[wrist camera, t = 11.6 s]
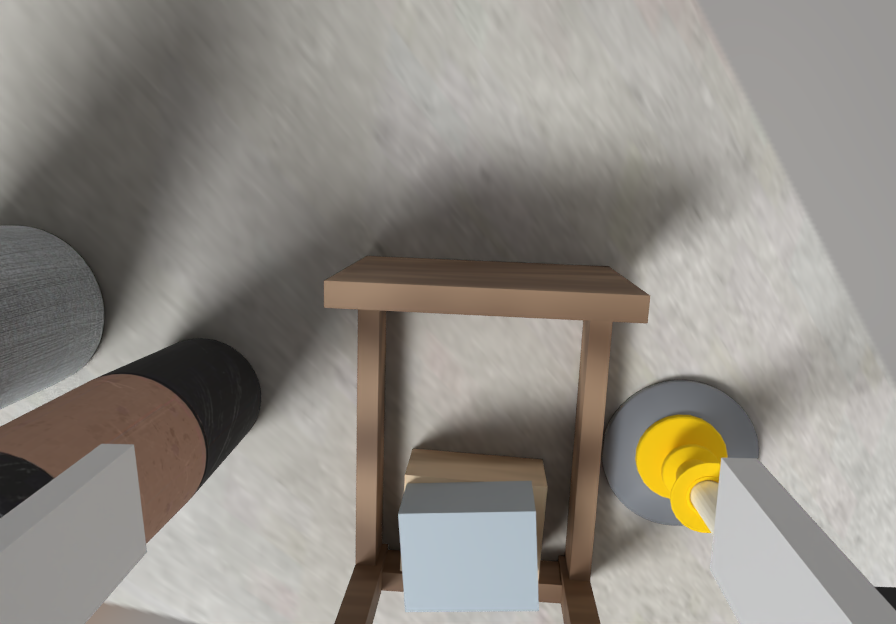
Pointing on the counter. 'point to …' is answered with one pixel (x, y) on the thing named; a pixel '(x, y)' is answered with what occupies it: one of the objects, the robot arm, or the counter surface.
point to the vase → (44, 312)
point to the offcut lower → (480, 475)
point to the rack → (490, 294)
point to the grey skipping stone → (652, 408)
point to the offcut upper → (469, 547)
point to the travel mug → (140, 426)
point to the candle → (683, 467)
